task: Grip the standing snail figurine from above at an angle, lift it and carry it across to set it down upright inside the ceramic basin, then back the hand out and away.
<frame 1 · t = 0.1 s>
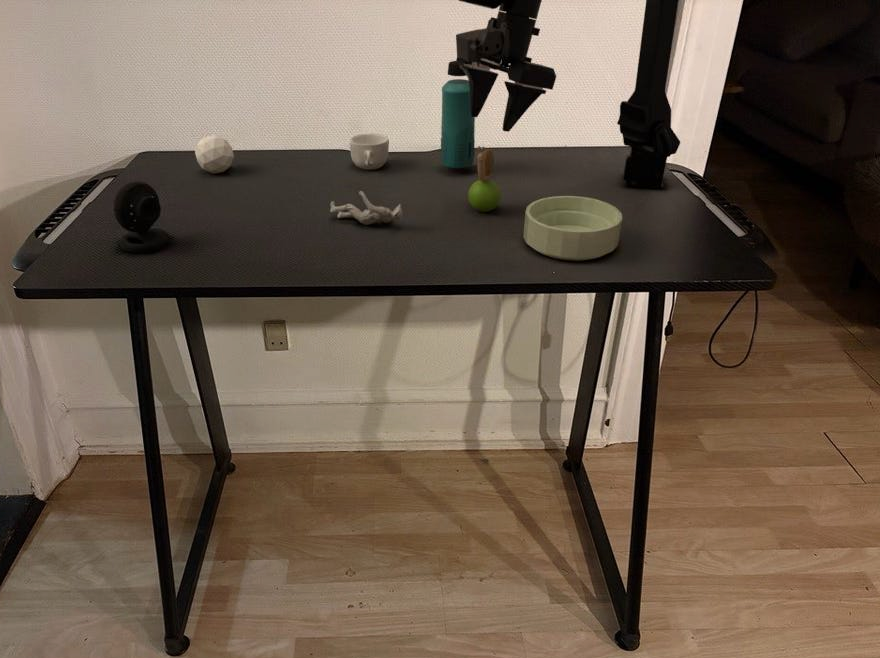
hand: (489, 123, 113), 15 cm above the table, tool pointing down, fingers open, 9 cm apart
teacup: (370, 169, 143), on the table
basin: (569, 243, 112), on the table
ornament: (217, 172, 143), on the table
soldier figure: (366, 224, 120), on the table
beverage bottle: (456, 171, 141), on the table
webcam: (145, 245, 114), on the table
snail figurine: (482, 212, 123), on the table
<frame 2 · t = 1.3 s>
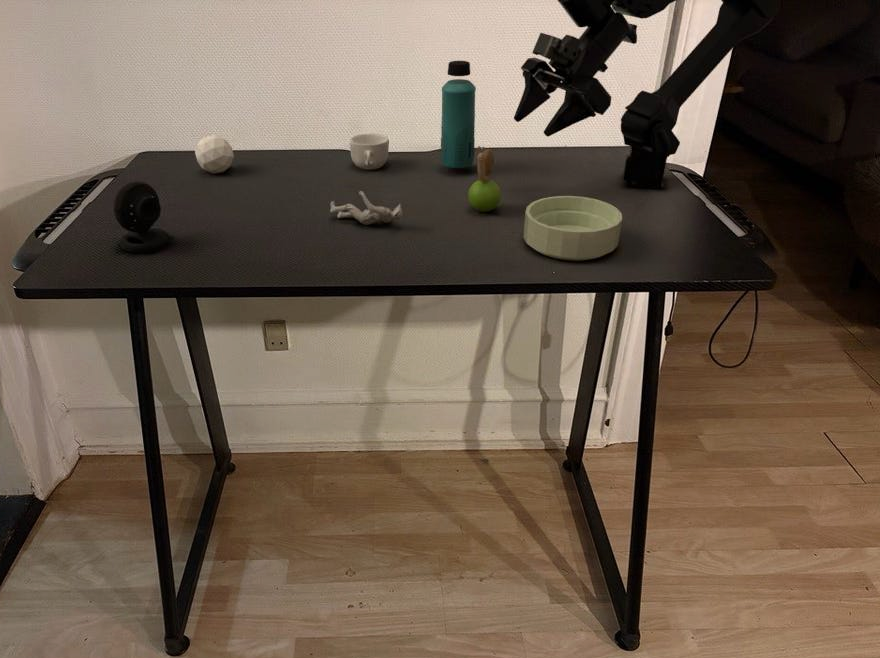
hand: (530, 127, 118), 13 cm above the table, tool tilted 45°, fingers open, 9 cm apart
nothing on the table moved.
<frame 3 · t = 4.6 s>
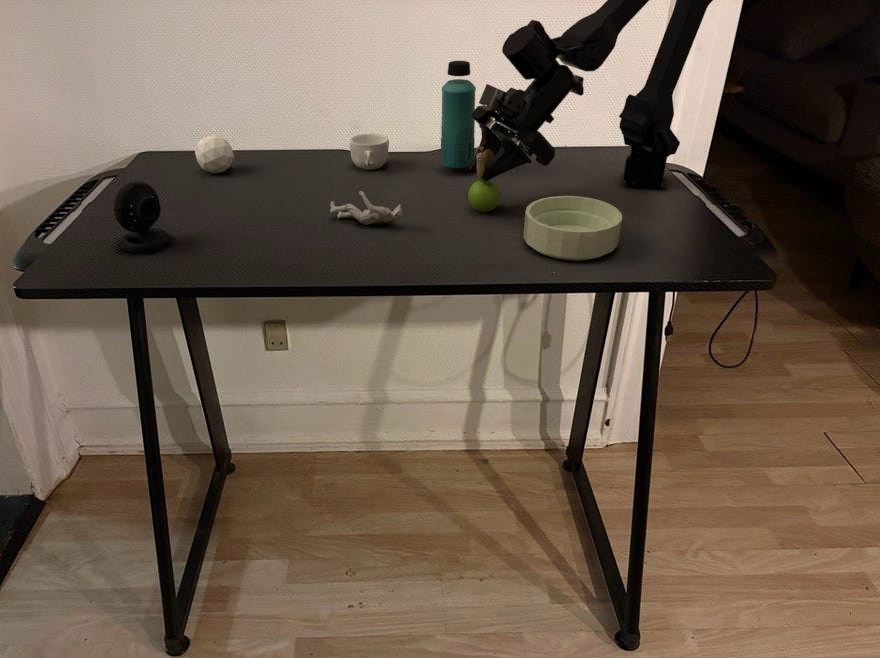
hand: (477, 175, 119), 7 cm above the table, tool tilted 45°, fingers closed on snail figurine, 4 cm apart
snail figurine: (482, 213, 123), on the table, touching gripper
everything else where it was.
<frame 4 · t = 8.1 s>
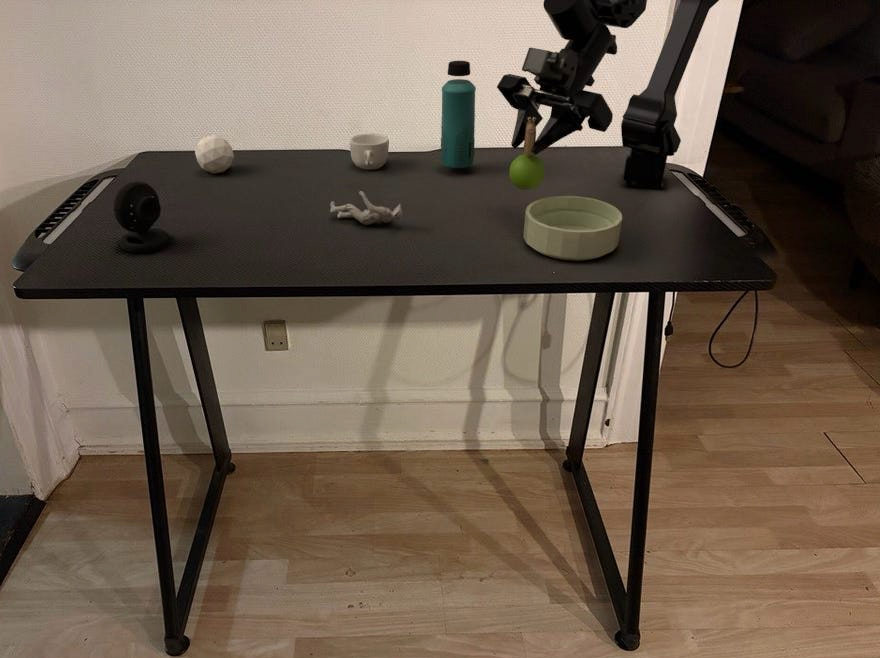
hand: (523, 149, 109), 13 cm above the table, tool tilted 45°, fingers closed on snail figurine, 4 cm apart
snail figurine: (525, 191, 113), point 6 cm above the table, touching gripper
everything else where it was.
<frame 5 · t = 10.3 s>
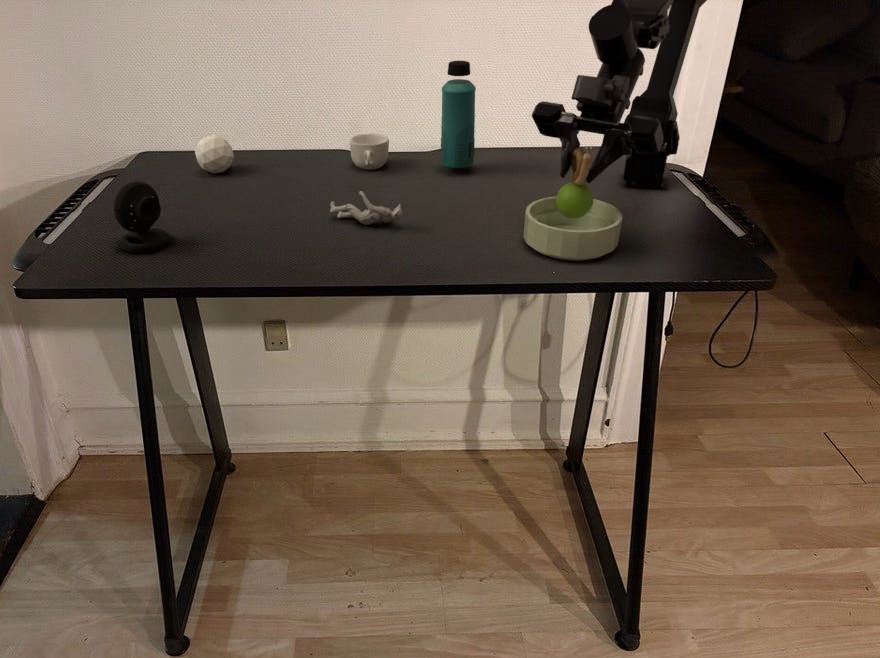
hand: (574, 179, 106), 11 cm above the table, tool tilted 45°, fingers closed on snail figurine, 4 cm apart
snail figurine: (573, 219, 110), point 4 cm above the table, touching gripper
everything else where it was.
when the fingers open (7 cm above the table, at t = 11.6 s): snail figurine stays where it is, resting on basin.
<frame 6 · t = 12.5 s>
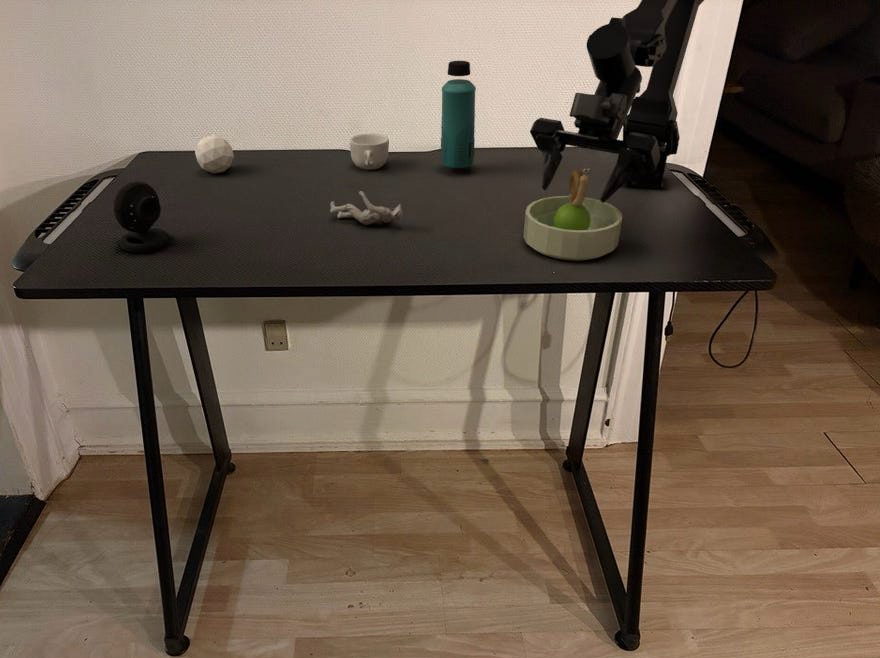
hand: (572, 194, 107), 8 cm above the table, tool tilted 45°, fingers open, 9 cm apart
snail figurine: (570, 239, 112), point 1 cm above the table, touching basin
everything else where it was.
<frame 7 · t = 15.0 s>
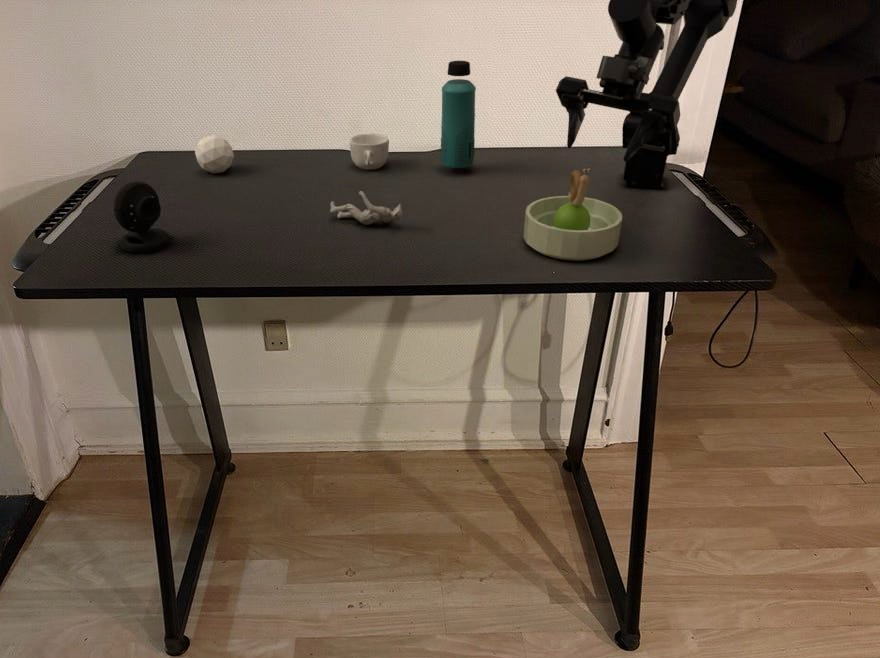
hand: (596, 153, 113), 11 cm above the table, tool tilted 40°, fingers open, 9 cm apart
nothing on the table moved.
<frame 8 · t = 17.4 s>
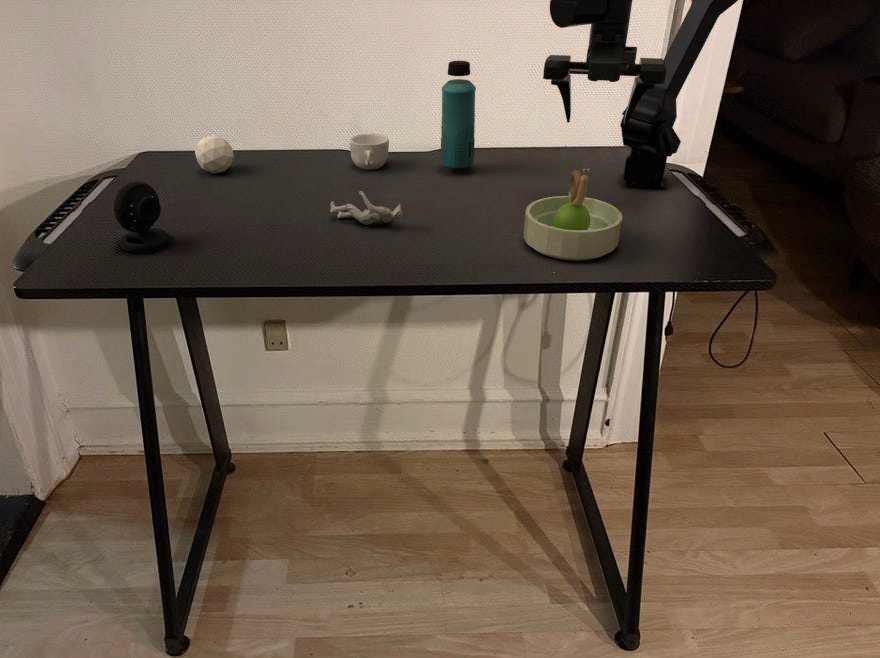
hand: (596, 123, 121), 13 cm above the table, tool pointing down, fingers open, 9 cm apart
nothing on the table moved.
at the end: snail figurine inside the target area in the basin (0.1 cm from its centre), point 0.6 cm above the basin's base; snail figurine tilted 0°; the gripper is holding nothing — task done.
